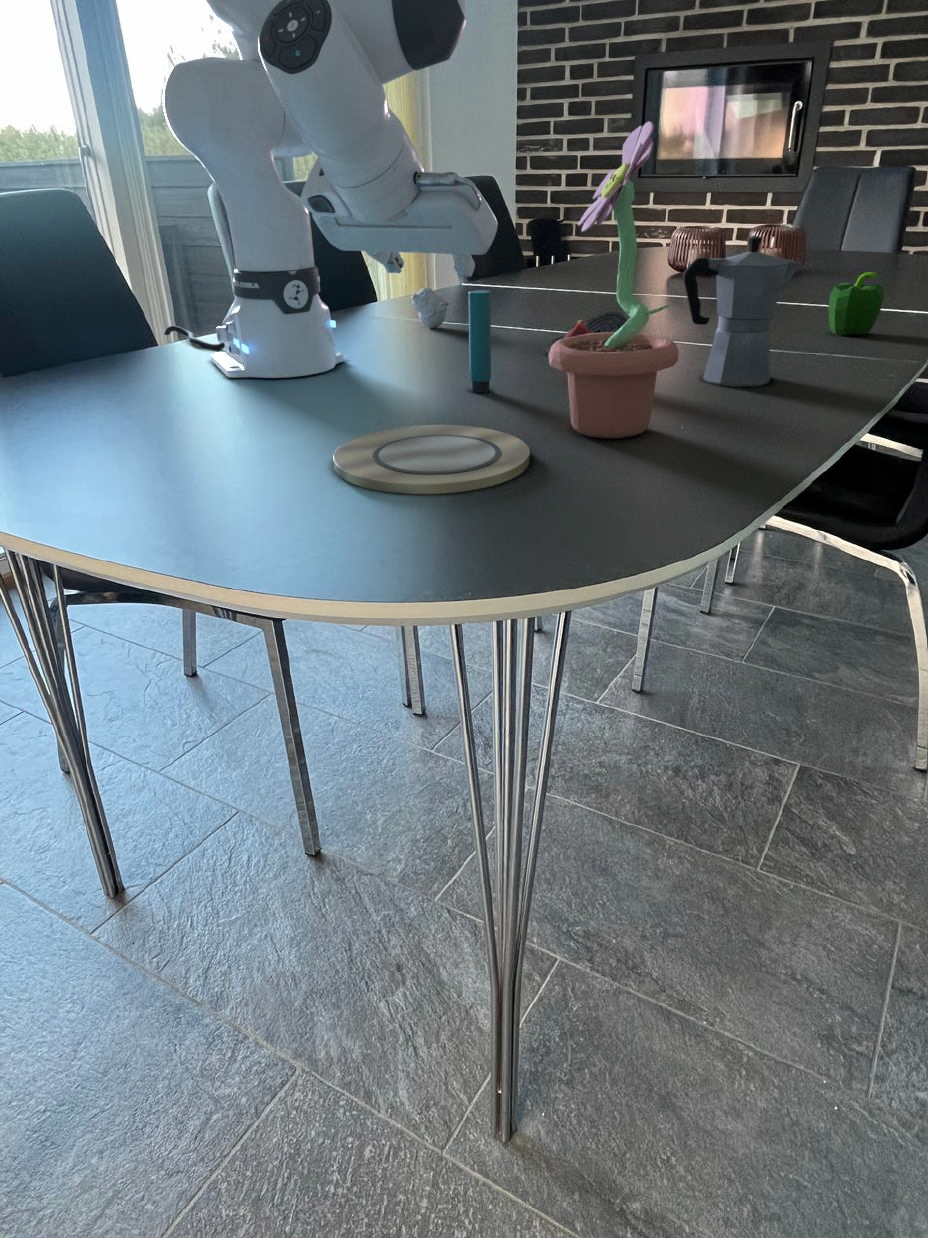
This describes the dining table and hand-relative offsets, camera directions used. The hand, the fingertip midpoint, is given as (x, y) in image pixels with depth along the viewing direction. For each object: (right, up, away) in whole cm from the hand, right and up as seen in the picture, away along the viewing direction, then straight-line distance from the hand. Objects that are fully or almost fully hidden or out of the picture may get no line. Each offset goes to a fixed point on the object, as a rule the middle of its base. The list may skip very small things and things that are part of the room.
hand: (431, 269), depth 96 cm
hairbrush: (+24, +6, +45) cm, 52 cm away
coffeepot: (+40, -7, +20) cm, 45 cm away
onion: (+20, -7, +21) cm, 29 cm away
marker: (+6, -9, +17) cm, 20 cm away
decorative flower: (+20, -19, -1) cm, 27 cm away
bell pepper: (+70, +9, +48) cm, 85 cm away
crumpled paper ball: (-2, +15, +61) cm, 63 cm away
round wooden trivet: (0, -24, -10) cm, 26 cm away
